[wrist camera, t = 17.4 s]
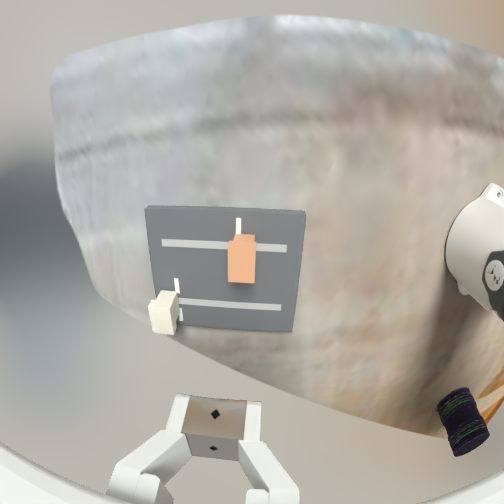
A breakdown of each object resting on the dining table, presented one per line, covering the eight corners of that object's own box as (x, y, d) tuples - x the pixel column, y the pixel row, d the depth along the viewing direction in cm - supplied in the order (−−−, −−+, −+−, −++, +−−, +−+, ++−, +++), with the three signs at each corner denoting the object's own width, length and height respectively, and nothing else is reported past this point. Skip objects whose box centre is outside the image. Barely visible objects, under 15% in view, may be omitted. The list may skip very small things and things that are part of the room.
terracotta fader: (257, 231, 36) (255, 247, 32) (256, 264, 38) (254, 283, 34) (232, 230, 36) (227, 246, 32) (232, 262, 38) (228, 281, 34)
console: (304, 211, 36) (306, 215, 35) (291, 325, 44) (291, 332, 43) (148, 205, 37) (144, 209, 36) (163, 316, 45) (160, 322, 43)
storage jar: (429, 413, 56) (445, 460, 42) (448, 389, 52) (469, 438, 38) (457, 408, 56) (474, 451, 42) (475, 384, 52) (497, 429, 38)
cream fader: (178, 289, 40) (169, 309, 36) (182, 314, 42) (173, 334, 38) (158, 287, 40) (147, 306, 36) (162, 312, 42) (153, 332, 38)
